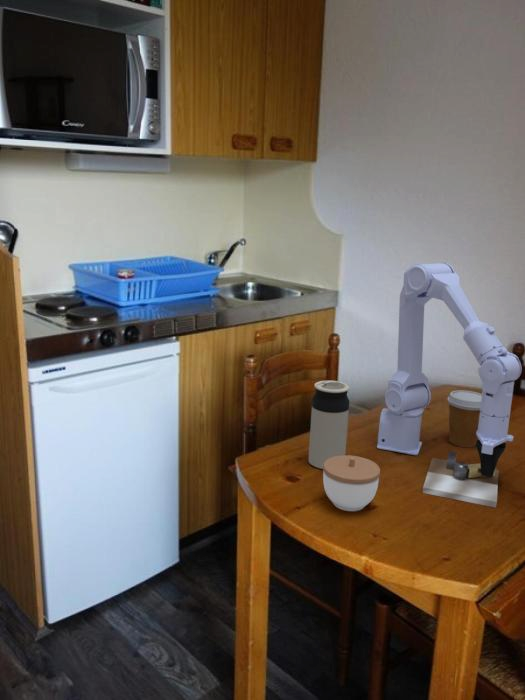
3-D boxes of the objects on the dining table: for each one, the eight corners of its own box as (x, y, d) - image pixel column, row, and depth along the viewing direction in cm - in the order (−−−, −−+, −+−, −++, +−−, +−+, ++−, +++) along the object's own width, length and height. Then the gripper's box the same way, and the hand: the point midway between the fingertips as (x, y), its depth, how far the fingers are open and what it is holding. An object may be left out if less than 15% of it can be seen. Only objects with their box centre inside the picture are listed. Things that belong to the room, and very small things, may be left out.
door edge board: (422, 492, 124) (423, 487, 124) (431, 462, 139) (432, 457, 139) (496, 507, 119) (496, 502, 119) (497, 474, 134) (498, 469, 134)
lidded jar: (309, 497, 121) (312, 452, 118) (353, 486, 126) (357, 443, 124) (342, 522, 112) (346, 475, 109) (388, 510, 117) (393, 464, 115)
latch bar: (457, 479, 127) (459, 467, 127) (450, 473, 130) (451, 462, 129) (495, 476, 130) (497, 464, 129) (487, 470, 132) (489, 459, 131)
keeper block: (446, 468, 133) (447, 458, 133) (448, 461, 137) (449, 451, 136) (453, 470, 133) (455, 459, 132) (455, 462, 137) (456, 452, 136)
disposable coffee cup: (477, 453, 145) (484, 405, 142) (437, 443, 150) (443, 396, 147) (487, 440, 153) (493, 394, 150) (448, 432, 158) (454, 387, 155)
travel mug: (351, 463, 137) (358, 386, 132) (329, 474, 131) (335, 393, 126) (323, 452, 142) (328, 377, 137) (300, 462, 136) (305, 384, 132)
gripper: (512, 427, 117) (503, 493, 120) (518, 406, 130) (510, 467, 133) (473, 420, 120) (466, 485, 123) (483, 401, 133) (476, 460, 136)
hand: (487, 475), depth 128 cm, fingers closed, pressing on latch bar
